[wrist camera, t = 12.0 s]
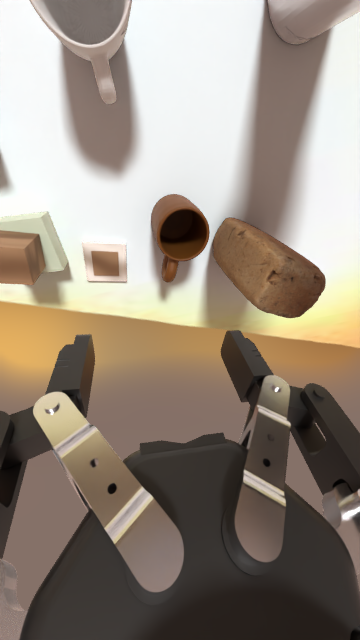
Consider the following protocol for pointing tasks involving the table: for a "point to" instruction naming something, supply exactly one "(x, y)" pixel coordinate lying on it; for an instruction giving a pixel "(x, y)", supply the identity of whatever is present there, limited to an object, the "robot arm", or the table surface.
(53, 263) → the base block
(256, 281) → the brown tall piece
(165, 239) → the mug
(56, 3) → the mug
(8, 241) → the walnut block
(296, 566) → the robot arm
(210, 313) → the table surface
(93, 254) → the tile
